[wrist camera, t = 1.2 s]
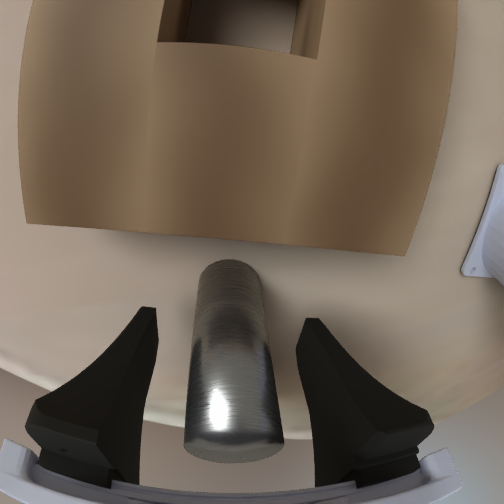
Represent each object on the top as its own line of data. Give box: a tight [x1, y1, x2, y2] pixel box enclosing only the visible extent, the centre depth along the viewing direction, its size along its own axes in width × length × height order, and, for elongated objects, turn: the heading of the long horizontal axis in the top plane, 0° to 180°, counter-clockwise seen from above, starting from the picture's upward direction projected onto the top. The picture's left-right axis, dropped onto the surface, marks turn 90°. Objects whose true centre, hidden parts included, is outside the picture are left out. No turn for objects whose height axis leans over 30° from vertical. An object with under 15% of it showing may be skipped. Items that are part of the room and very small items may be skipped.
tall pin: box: [184, 259, 284, 463], centre depth 12 cm, size 3×3×9 cm
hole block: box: [18, 0, 457, 256], centre depth 7 cm, size 14×16×4 cm
